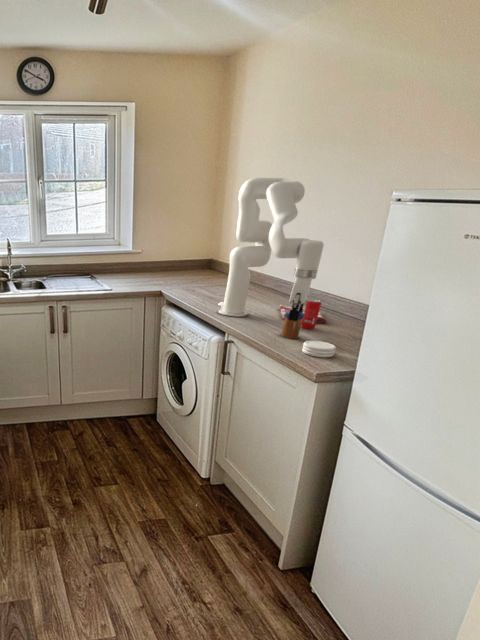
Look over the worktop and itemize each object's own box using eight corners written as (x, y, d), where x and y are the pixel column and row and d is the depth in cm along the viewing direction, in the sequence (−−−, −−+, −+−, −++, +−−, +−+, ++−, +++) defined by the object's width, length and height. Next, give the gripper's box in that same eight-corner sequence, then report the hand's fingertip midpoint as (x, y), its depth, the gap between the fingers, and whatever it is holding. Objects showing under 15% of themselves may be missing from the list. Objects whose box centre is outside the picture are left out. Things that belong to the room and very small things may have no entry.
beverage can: (297, 327, 197) (304, 300, 192) (305, 325, 199) (312, 298, 194) (309, 330, 193) (316, 302, 188) (317, 328, 195) (324, 301, 190)
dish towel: (283, 320, 208) (284, 314, 207) (278, 308, 228) (279, 303, 227) (325, 323, 202) (327, 318, 201) (316, 312, 222) (318, 306, 221)
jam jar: (277, 335, 186) (283, 312, 183) (288, 333, 188) (293, 311, 185) (290, 339, 181) (296, 316, 178) (301, 337, 183) (307, 314, 180)
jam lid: (281, 315, 183) (282, 311, 183) (292, 314, 186) (293, 310, 185) (295, 319, 178) (296, 315, 177) (307, 318, 180) (308, 313, 179)
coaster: (296, 352, 166) (299, 343, 165) (308, 347, 172) (310, 338, 171) (326, 360, 159) (329, 350, 158) (338, 354, 165) (340, 345, 163)
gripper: (297, 270, 183) (288, 313, 190) (289, 275, 171) (279, 321, 177) (319, 272, 179) (308, 315, 186) (313, 277, 166) (301, 324, 173)
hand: (294, 318), depth 181 cm, fingers open, 7 cm apart
